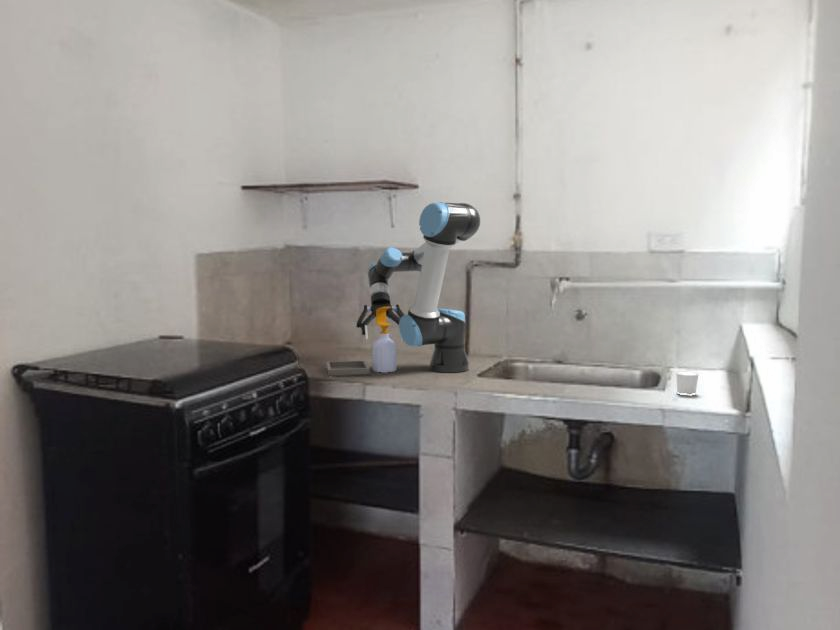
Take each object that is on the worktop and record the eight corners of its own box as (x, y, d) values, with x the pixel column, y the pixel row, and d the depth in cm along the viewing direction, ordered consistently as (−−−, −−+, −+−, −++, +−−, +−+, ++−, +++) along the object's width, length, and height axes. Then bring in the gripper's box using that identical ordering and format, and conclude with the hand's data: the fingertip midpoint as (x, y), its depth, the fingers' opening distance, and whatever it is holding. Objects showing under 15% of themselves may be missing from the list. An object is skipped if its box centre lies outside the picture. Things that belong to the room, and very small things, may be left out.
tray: (365, 367, 277) (365, 360, 277) (369, 375, 262) (369, 368, 261) (326, 368, 275) (326, 361, 274) (328, 376, 259) (328, 369, 259)
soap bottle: (379, 373, 264) (379, 308, 261) (368, 369, 272) (368, 305, 269) (400, 371, 269) (400, 306, 266) (389, 367, 277) (389, 304, 274)
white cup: (699, 397, 230) (700, 375, 229) (677, 396, 231) (678, 374, 230) (694, 392, 237) (696, 371, 236) (673, 391, 238) (674, 370, 237)
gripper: (410, 302, 285) (416, 345, 272) (347, 303, 281) (351, 347, 268) (412, 290, 279) (418, 333, 266) (348, 291, 275) (352, 335, 262)
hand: (385, 340), depth 267 cm, fingers open, 13 cm apart
